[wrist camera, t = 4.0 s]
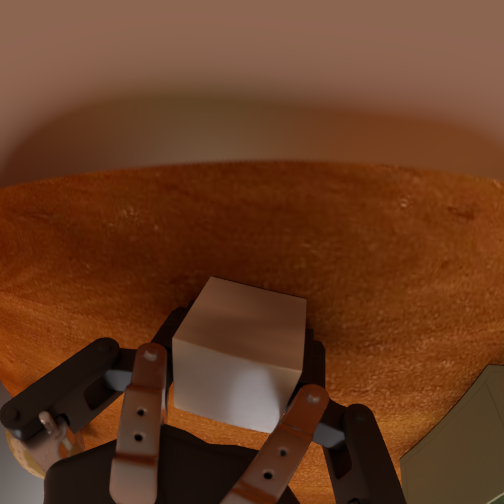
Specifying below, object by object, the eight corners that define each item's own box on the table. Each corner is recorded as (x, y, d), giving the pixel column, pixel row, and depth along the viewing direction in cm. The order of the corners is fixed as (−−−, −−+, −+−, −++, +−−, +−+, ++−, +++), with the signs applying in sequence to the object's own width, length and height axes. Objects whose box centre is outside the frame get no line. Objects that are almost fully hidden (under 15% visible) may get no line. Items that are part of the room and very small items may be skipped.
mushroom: (-2, 390, 25) (-16, 443, 14) (50, 364, 32) (55, 411, 20) (37, 444, 28) (45, 506, 16) (86, 420, 34) (110, 477, 22)
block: (307, 298, 13) (302, 372, 9) (284, 365, 15) (273, 434, 11) (210, 275, 14) (171, 337, 10) (203, 345, 16) (174, 407, 12)
